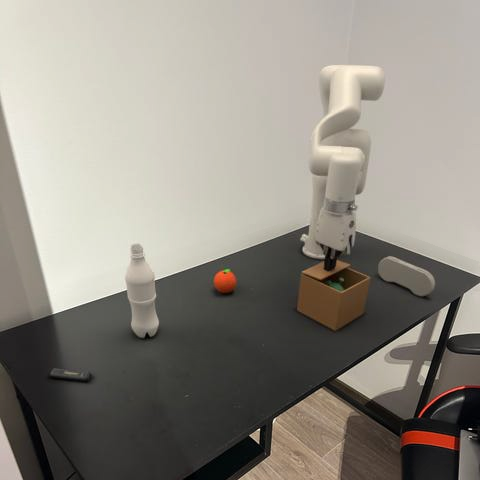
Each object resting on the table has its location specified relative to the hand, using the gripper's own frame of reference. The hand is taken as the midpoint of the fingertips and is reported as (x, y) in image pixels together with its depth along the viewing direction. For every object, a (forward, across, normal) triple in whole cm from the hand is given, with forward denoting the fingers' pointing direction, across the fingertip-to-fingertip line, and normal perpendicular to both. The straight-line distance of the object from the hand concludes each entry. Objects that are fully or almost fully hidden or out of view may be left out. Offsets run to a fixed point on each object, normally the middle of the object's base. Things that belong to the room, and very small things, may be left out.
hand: (329, 268), depth 126 cm
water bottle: (+13, +24, +46) cm, 53 cm away
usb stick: (+14, +20, +69) cm, 73 cm away
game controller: (+13, -8, -30) cm, 34 cm away
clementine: (+13, +27, +15) cm, 33 cm away
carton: (+13, -2, 0) cm, 13 cm away
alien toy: (+13, -2, -1) cm, 13 cm away
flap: (+1, +1, 0) cm, 1 cm away
